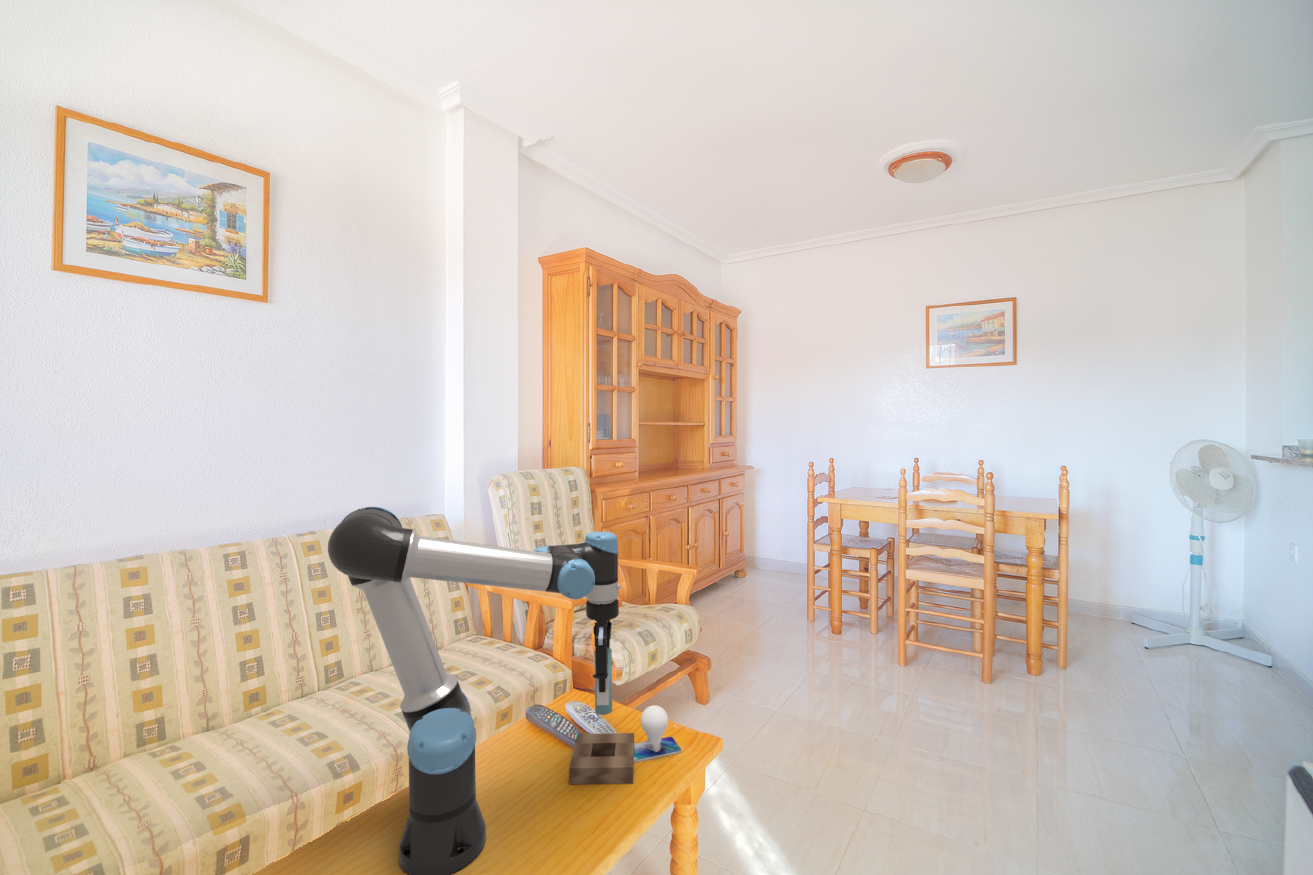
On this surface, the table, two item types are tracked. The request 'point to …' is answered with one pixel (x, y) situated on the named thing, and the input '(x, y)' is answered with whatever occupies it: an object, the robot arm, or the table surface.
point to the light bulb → (654, 726)
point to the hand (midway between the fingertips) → (603, 699)
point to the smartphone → (667, 748)
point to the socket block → (602, 759)
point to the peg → (608, 708)
